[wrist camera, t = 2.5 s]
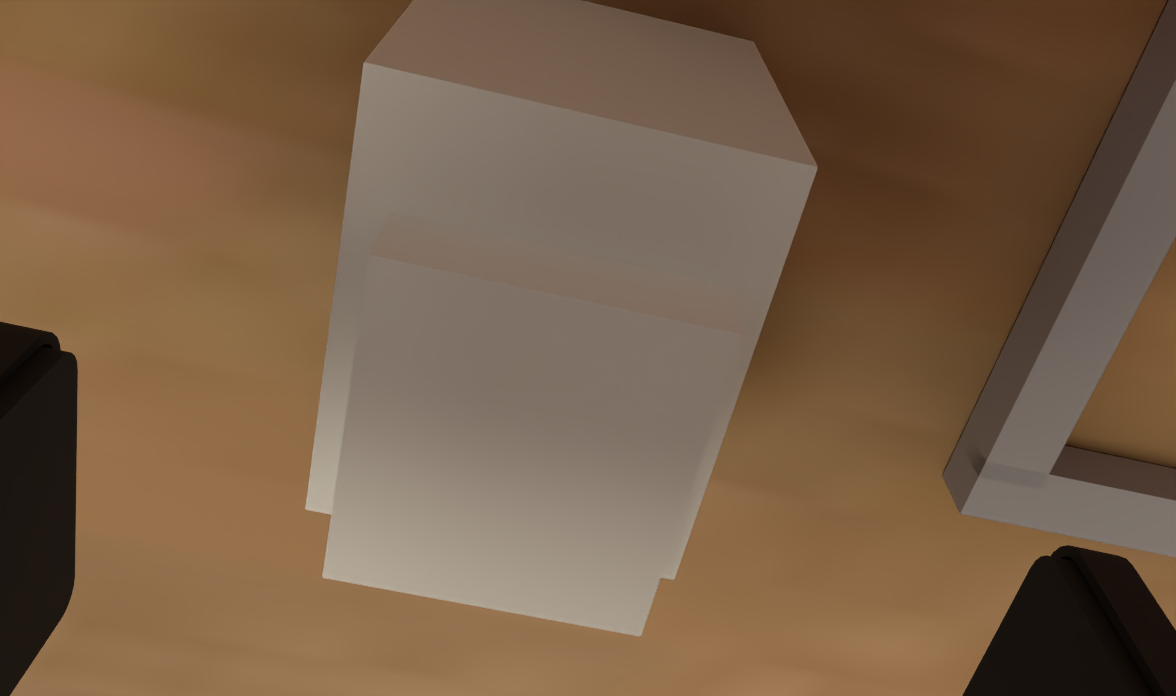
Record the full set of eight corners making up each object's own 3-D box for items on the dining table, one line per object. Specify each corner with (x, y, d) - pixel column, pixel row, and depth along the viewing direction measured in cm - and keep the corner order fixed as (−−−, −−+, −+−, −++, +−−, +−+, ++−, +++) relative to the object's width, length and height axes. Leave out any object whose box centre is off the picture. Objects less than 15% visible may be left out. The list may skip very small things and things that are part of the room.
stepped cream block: (440, -35, 17) (339, 93, 10) (753, 40, 17) (838, 207, 11) (387, 305, 19) (281, 570, 13) (656, 362, 20) (679, 643, 14)
